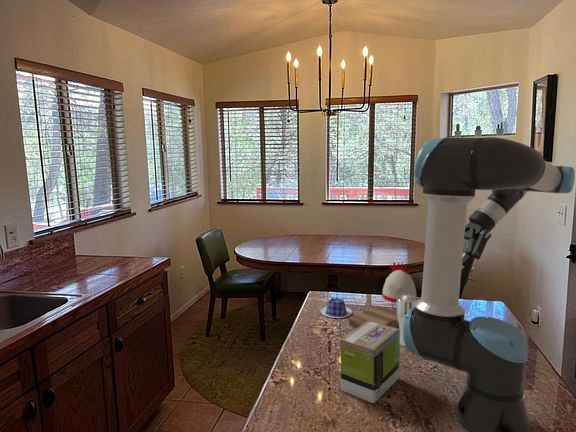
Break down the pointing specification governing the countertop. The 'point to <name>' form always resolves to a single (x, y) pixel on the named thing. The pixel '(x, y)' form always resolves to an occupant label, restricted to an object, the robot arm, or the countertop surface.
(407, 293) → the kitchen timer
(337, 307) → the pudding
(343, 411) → the countertop surface
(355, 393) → the tea box
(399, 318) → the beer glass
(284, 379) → the countertop surface
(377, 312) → the walnut serving board
